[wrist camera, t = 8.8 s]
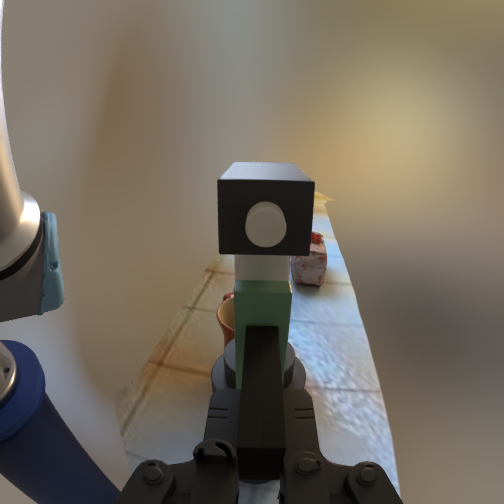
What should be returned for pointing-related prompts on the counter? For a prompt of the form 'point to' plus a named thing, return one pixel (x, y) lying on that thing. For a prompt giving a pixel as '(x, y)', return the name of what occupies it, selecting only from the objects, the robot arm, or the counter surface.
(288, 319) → the trigger
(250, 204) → the spray bottle
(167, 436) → the counter surface
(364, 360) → the counter surface
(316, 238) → the food item
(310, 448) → the robot arm
